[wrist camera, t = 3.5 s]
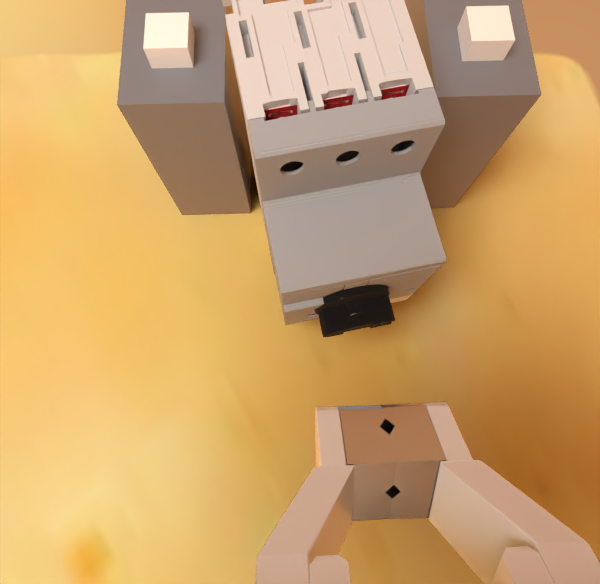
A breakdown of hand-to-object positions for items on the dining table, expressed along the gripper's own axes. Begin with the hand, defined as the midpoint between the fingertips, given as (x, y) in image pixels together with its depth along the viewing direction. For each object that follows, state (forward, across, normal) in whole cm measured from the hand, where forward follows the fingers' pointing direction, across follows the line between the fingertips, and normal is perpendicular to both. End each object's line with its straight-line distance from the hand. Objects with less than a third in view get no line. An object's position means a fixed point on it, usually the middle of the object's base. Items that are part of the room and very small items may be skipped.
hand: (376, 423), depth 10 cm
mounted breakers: (+27, 0, 0) cm, 27 cm away
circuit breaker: (+22, 0, +6) cm, 22 cm away
